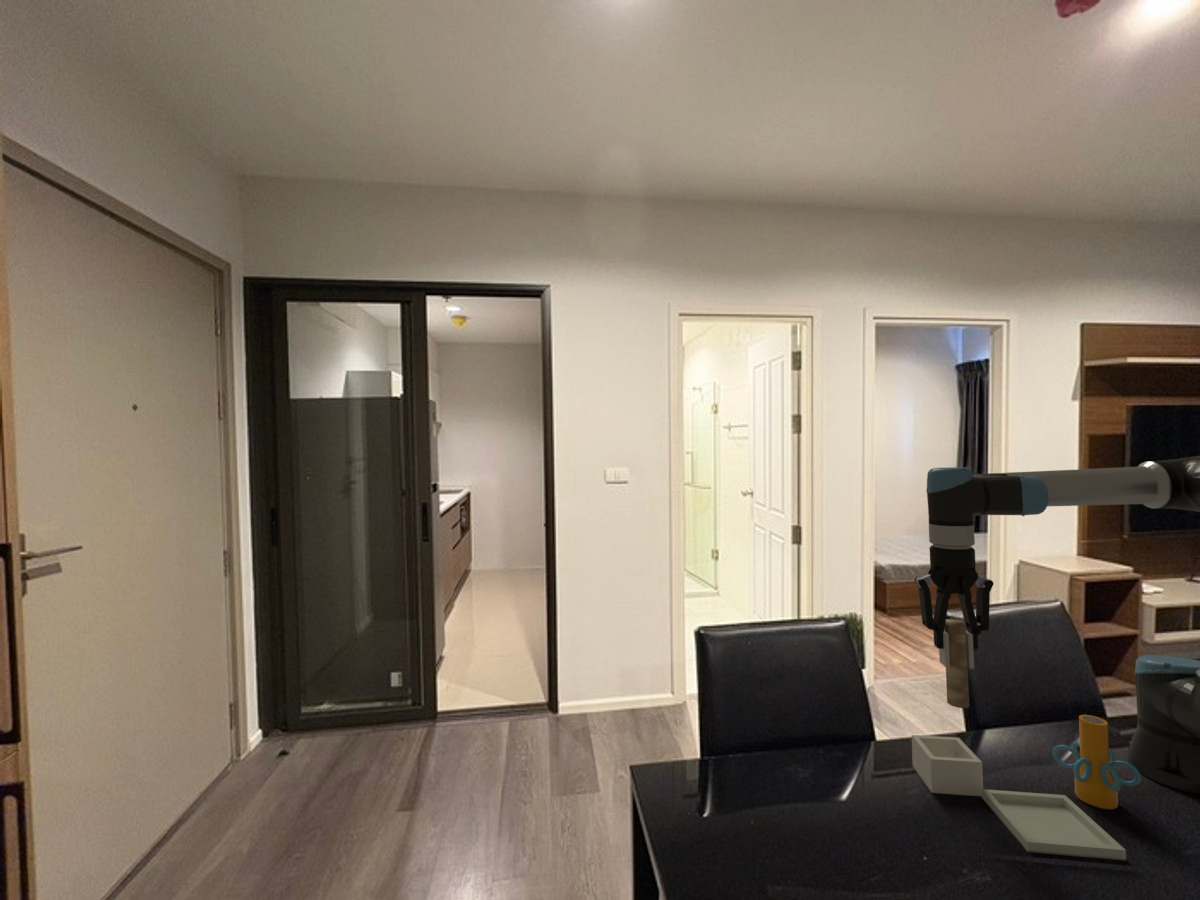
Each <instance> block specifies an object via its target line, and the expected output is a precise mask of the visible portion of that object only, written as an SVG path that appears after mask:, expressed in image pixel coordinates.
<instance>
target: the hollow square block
mask: <svg viewBox="0 0 1200 900" xmlns="http://www.w3.org/2000/svg"><path fill="white" fill-rule="evenodd" d="M911 752H912V755H911V756H912V760H911V761H912V767H913V769H914V771H916V772H917V774H918V777H920V779H921V780H922V781H923V782H924V784H925V786H926V787H927V789H928V790H929V791H930V792H931V793H933V794H944V795H955V796H956V795H957V796H959V795H960V796H969V797H970V796H972V797H973V796H974V797H982V789H984V778H983V776H984V775H983V774H984V773H983V762H982V761H981V759H979V757H978V756H977V755H976V754H975V753H974V752H973V751H972V750H971V749H970V748H969V747H968V746H967V745H966V744H965V742H964V741H963V740H962V739H961V738H960V737H953V736H951V737H950V736H936V735H935V736H933V735H918V734H915V735H914V734H911Z"/></svg>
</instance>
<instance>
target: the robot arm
mask: <svg viewBox="0 0 1200 900" xmlns="http://www.w3.org/2000/svg"><path fill="white" fill-rule="evenodd" d="M925 491H926V498H927V509H928V510H927V511H928V512H927V514H928V539H929V540H928V541H929V543H930V544H932V545H930V546H929V563H930V568H929V570H928V572H927V573H928V574H927V575H924V576H923V575H922V576H921V577H920V576H916V577H915V578H914V582H915V584H916V586H917V588H918V594H919V595H918V597H919V605H920V613H921V615H920V616H921V624H922V626H924V627H925V628H927V630H931V631H933V632H932V633H933V645H934V647H936V648H937V649H938V651H939V652H938V654H939V655H938V656H939V663H940V664H941V665H942V666H944V667H945V668H946V667H950V655H949V634H948V633H947V632H945V631H944V629H945V622H946V619H947V615H948V607H949V602H950V600H951V597H952V595H953V594H956V596H957V597H958V601H959V605H960V609H961V612H962V616H963V622H965V623H966V642H967V666H968V668H969V669H975V661H974V660H975V659H974V658H975V655H974V654H975V653H974V650H975V651H977V650H978V649H979V636H980V635H981V633H982V632H983V631H985V632H986V631H988V630H989V629H990V604H991V603H990V602H991V601H990V599H991V598H990V597H991V595H990V594H991V591H992V589H993V586H994V581H993V580H991V579H990V578H987V577H984V576H983V577H982V576H980V575H979V574H978V572H977V570H976V550H975V548H974V547H973V546H974V545H975V544H976V542H975V540H976V539H975V521H974V517H975V516H1021V517H1025V516H1031V515H1032V516H1033V515H1035V516H1036V515H1041V514H1042V513H1044V512H1045V510H1047V508H1048V507H1076V506H1078V507H1079V506H1111V505H1112V506H1113V505H1114V506H1115V505H1116V506H1117V505H1119V506H1120V505H1143V506H1144V507H1146V508H1149V509H1174V510H1183V511H1184V510H1185V511H1190V512H1192V511H1193V512H1197V513H1198V512H1199V513H1200V455H1195V456H1188V457H1183V458H1176V459H1174V458H1173V459H1167V460H1166V459H1164V460H1152V461H1144V462H1142V463H1140V464H1138V466H1129V467H1128V466H1127V467H1126V466H1125V467H1109V468H1108V467H1103V468H1085V469H1083V468H1081V469H1064V470H1063V469H1061V470H1040V471H1039V470H1038V471H1018V472H1017V471H1016V472H1015V471H1014V472H996V473H995V472H993V473H992V472H991V473H977V472H972V470H971V468H969V467H961V466H960V467H956V466H955V467H934V468H931V469H929V470H928V471H927V475H926V490H925ZM931 582H932V583H933V584H934V585H935V587H936V593H935V594H936V598H935V607H934V612H933V604H932V598H931V597H932V595H931V594H932V593H931V590H930V588H931V586H932V585H931V584H932V583H931ZM974 585H975V586H976V595H975V596H976V598H975V600H976V601H975V609H974V605H973V600H972V598H973V597H972V592H971V588H972V587H973V586H974ZM1134 675H1135V691H1136V693H1135V696H1136V697H1135V698H1136V715H1137V716H1136V718H1137V724H1136V725H1137V726H1136V728H1135V730H1134V733H1133V736H1132V738H1131V740H1130V743H1129V745H1128V746H1127V747H1126V756H1127V757H1126V759H1127V761H1126V762H1127V763H1129V764H1131V765H1132V766H1134V767H1135V768H1136V769H1137V770H1138V772H1139V773H1140V775H1141V774H1142V775H1143V776H1144V777H1147V778H1149V779H1151V780H1152V781H1155V782H1158V783H1160V784H1162V785H1165V786H1166V787H1167V786H1168V787H1170V788H1173V789H1176V790H1179V791H1183V792H1186V793H1191V794H1195V795H1200V660H1198V659H1192V658H1186V657H1180V656H1171V655H1156V654H1155V655H1154V654H1149V655H1142V656H1139V657H1138V658H1137V659H1136V661H1135V667H1134Z"/></svg>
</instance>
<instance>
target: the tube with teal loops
mask: <svg viewBox="0 0 1200 900" xmlns="http://www.w3.org/2000/svg"><path fill="white" fill-rule="evenodd" d="M1078 723H1079V724H1078V727H1079V730H1078V731H1079V740H1078V741H1077V740H1075V741H1074V742H1073V743H1072V745H1071V746H1069V745H1067V744H1058V745H1056V746H1055V747H1054V748H1053V749H1052V756H1053V759H1054V760H1055V762H1057V763H1058V764H1059V765H1060V766H1062V767H1064V768H1066V769H1070V770H1073V776H1074V778H1073V781H1074V793H1075V796H1076V797H1077V798H1078V799H1079V800H1080V801H1082V802H1083V803H1086V804H1087V805H1090V806H1092V807H1095V808H1098V809H1101V810H1102V809H1103V810H1115V809H1117V808H1118V806H1119V796H1118V794H1119V793H1118V791H1119V790H1121V786H1122V785H1124V786H1127V787H1135V786H1138V785H1139V784H1140V783H1141V780H1142V778H1141V777H1142V776H1141V773H1140V772H1138V770H1137V769H1136V768H1135V767H1134V766H1132V765H1131V764H1129V763H1128V761H1124V760H1117V755H1116V753H1115V752H1114V751H1113V749H1111V748H1109V747H1110V746H1109V745H1110V744H1109V723H1108V721H1107V720H1105V719H1103V718H1101V717H1099V716H1095V715H1091V714H1090V715H1089V714H1081V715H1079V716H1078ZM1078 747H1079V752H1078ZM1062 750H1066V751H1069V752H1070V753H1071V754H1072V755H1073V757H1074V759H1075V762H1073V763H1071V764H1070V763H1066V762H1064V760H1062V759H1060V757H1059V755H1058V753H1059V751H1062ZM1118 766H1122V767H1126V768H1128V769H1129V770H1131V771H1132V772H1133V774H1134V778H1133V779H1132V780H1130V781H1129V780H1124V779H1122V778H1120V776H1119V775H1118V772H1117V770H1116V767H1118Z"/></svg>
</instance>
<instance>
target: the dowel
mask: <svg viewBox="0 0 1200 900" xmlns="http://www.w3.org/2000/svg"><path fill="white" fill-rule="evenodd" d="M966 630H967V629H966V623H965V621H964V620H960V619H954V618H953V619H949V618H946V622H945V629H944V631H945V632H947V633H948V634H949V655H950V667H945V680H946V681H945V683H946V685H945V686H946V703H947V704H949V706H952V707H954V708H958V709H967V708H969V707H970V695H969V692H970V691H969V669H968V668H969V667H968V666H967V642H966Z"/></svg>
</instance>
